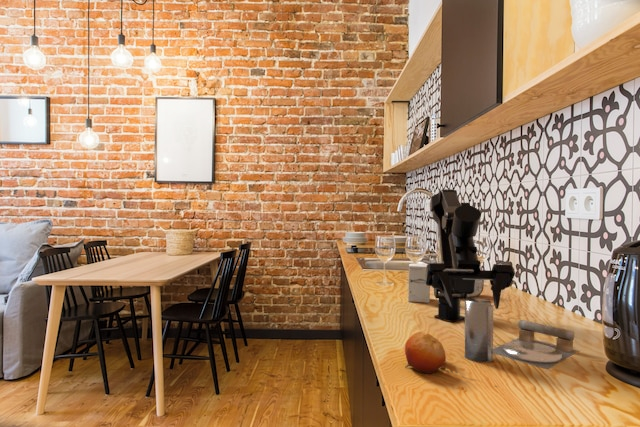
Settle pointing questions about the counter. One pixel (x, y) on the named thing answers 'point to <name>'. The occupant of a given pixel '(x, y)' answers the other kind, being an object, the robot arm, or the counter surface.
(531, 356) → the flange disc
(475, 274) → the robot arm
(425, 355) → the fruit
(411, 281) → the supplement box
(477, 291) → the tin
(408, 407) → the counter surface
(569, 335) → the bar handle
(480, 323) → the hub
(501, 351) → the board
